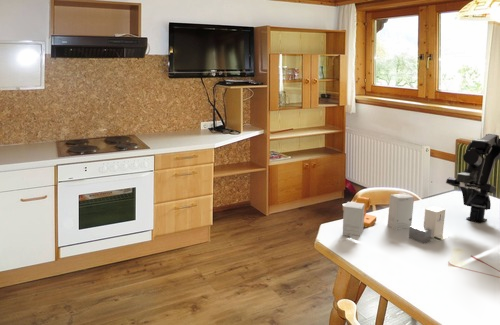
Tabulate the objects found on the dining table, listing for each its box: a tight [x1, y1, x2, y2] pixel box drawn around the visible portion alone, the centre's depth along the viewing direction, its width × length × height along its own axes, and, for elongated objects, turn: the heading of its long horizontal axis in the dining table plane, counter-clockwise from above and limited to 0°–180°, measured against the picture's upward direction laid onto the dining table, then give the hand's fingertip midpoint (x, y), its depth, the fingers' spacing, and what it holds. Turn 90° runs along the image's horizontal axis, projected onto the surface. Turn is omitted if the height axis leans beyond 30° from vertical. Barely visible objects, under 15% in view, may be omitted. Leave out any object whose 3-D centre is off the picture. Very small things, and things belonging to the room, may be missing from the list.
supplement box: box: [342, 201, 365, 237], centre depth 183 cm, size 7×7×13 cm
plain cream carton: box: [423, 205, 446, 241], centre depth 177 cm, size 10×8×11 cm
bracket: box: [355, 196, 377, 228], centre depth 194 cm, size 11×7×12 cm, turn 147°
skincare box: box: [387, 193, 415, 230], centre depth 188 cm, size 8×6×15 cm
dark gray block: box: [408, 224, 432, 245], centre depth 175 cm, size 4×7×5 cm, turn 34°
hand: (465, 205), depth 185 cm, fingers closed
